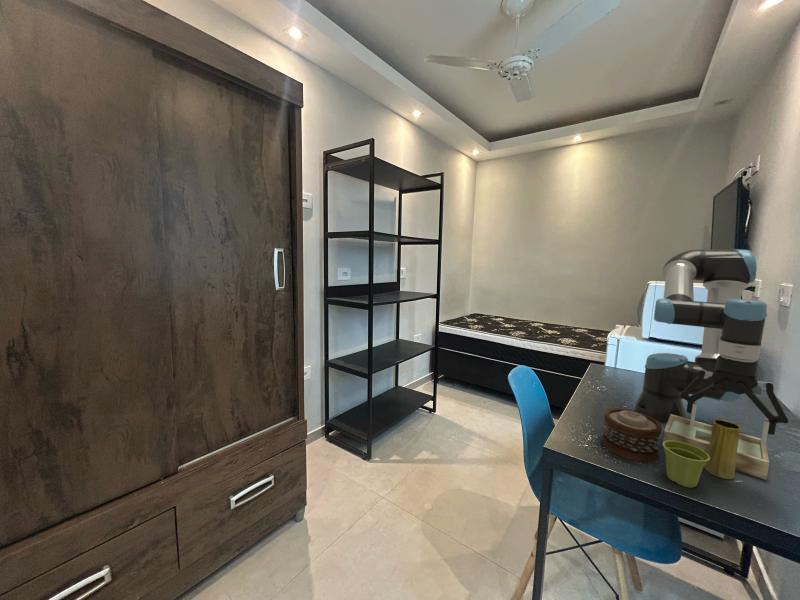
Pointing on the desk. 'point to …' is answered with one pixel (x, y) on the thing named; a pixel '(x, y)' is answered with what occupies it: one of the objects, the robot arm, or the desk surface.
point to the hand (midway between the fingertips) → (725, 434)
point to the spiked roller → (632, 434)
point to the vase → (723, 449)
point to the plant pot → (684, 462)
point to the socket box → (678, 429)
